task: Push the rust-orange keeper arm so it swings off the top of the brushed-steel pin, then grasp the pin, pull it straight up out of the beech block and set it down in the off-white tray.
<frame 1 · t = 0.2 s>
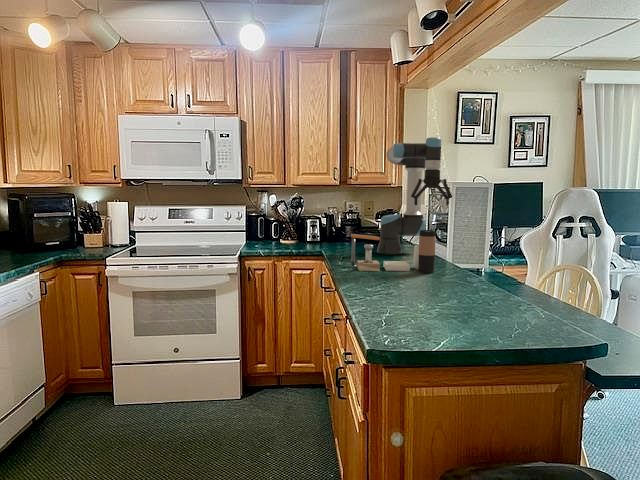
hand: (430, 212, 238), 28 cm above the countertop, fingers open, 13 cm apart
tray: (396, 269, 235), on the countertop
keeper arm: (364, 236, 234), point 16 cm above the countertop, hinge at 0.0°
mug: (424, 268, 239), on the countertop
travel mug: (426, 272, 227), on the countertop
block: (368, 269, 234), on the countertop
keeper post: (352, 266, 241), on the countertop
pin: (368, 257, 233), in the block
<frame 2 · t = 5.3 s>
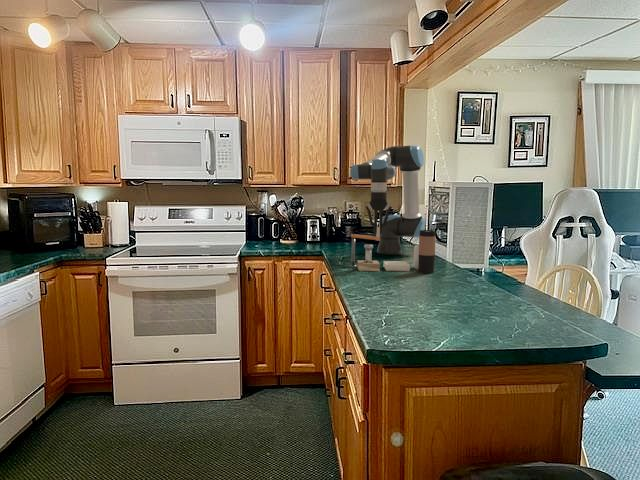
hand: (377, 240, 231), 14 cm above the countertop, fingers closed
keeper arm: (364, 236, 234), point 16 cm above the countertop, hinge at -0.4°, touching gripper
everything else where it was.
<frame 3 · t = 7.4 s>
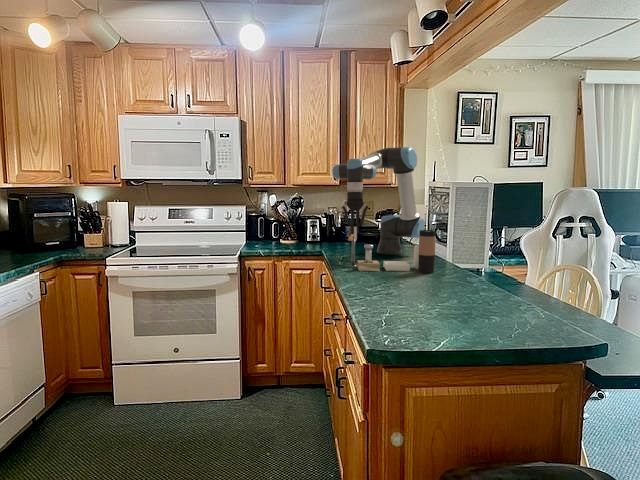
hand: (355, 240, 230), 14 cm above the countertop, fingers closed
keeper arm: (351, 237, 232), point 16 cm above the countertop, hinge at -55.4°, touching gripper
everything else where it was.
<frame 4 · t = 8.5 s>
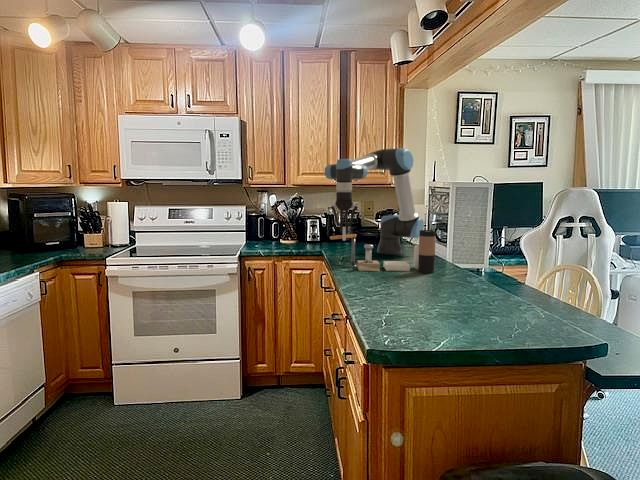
hand: (344, 240, 231), 14 cm above the countertop, fingers closed
keeper arm: (343, 236, 234), point 16 cm above the countertop, hinge at -91.8°, touching gripper
everything else where it was.
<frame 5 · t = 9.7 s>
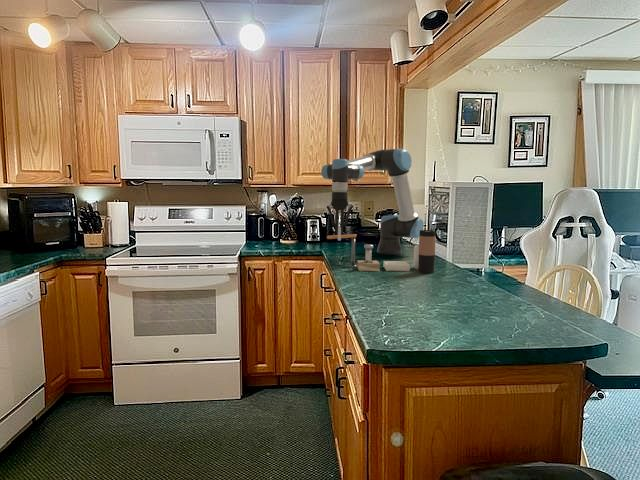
hand: (339, 240, 231), 14 cm above the countertop, fingers closed
keeper arm: (342, 236, 235), point 16 cm above the countertop, hinge at -100.3°, touching gripper
everything else where it was.
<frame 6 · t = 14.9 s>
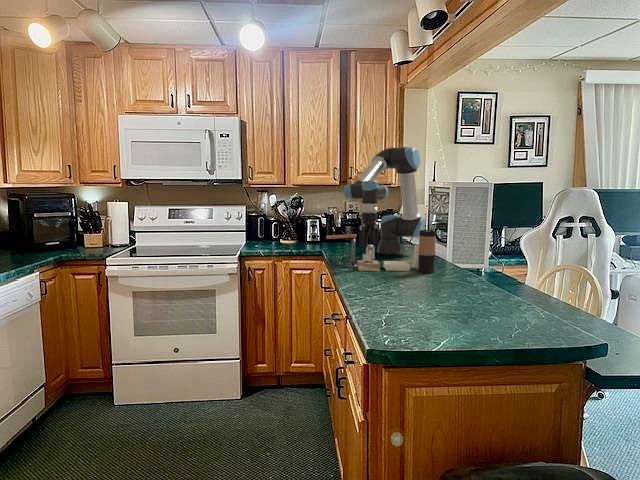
hand: (368, 259, 233), 5 cm above the countertop, fingers closed on pin, 4 cm apart
keeper arm: (341, 236, 235), point 16 cm above the countertop, hinge at -102.8°
pin: (368, 257, 233), in the block, touching gripper
everything else where it was.
when the fingers open (7 cm above the countertop, at t = 21.2 s): pin drops 2 cm, resting on tray.
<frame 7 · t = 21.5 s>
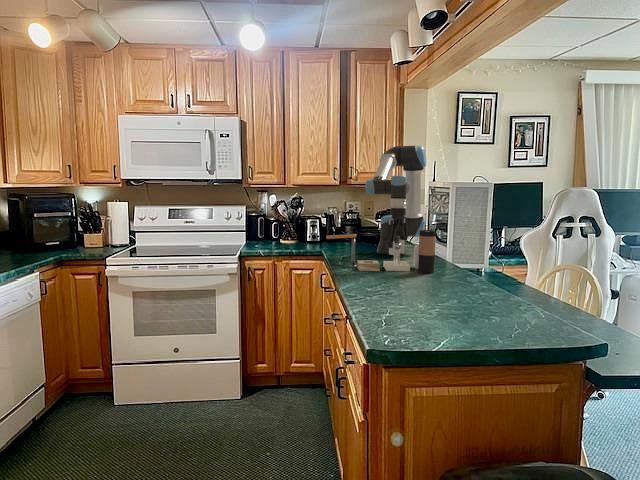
hand: (396, 253, 234), 8 cm above the countertop, fingers open, 8 cm apart
pin: (396, 255, 234), in the tray, point 7 cm above the countertop
everything else where it was.
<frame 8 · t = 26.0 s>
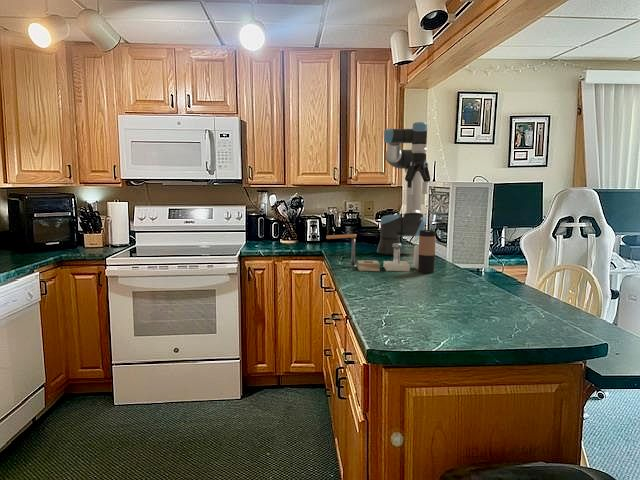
hand: (417, 194, 249), 37 cm above the countertop, fingers open, 13 cm apart
nothing on the countertop moved.
at the end: keeper arm at -103° (first picture: +0°); pin inside the target area on the tray (0.0 cm from its centre), point 6.6 cm above the tray's base; the gripper is holding nothing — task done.
